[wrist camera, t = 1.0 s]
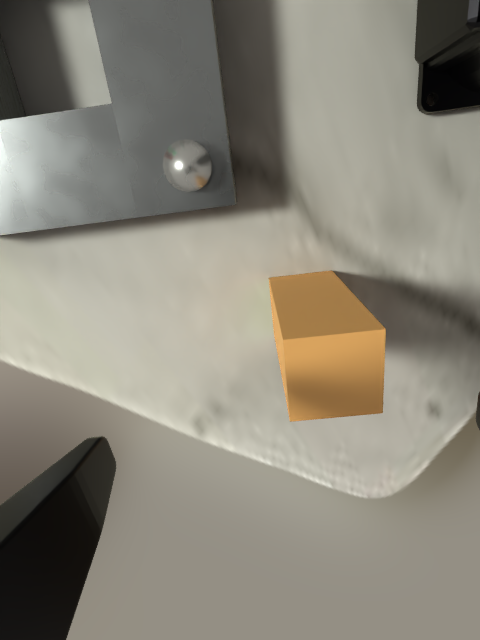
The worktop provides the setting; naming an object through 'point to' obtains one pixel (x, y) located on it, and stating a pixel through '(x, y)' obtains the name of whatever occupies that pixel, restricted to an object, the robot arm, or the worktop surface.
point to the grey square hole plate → (124, 127)
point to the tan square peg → (326, 347)
